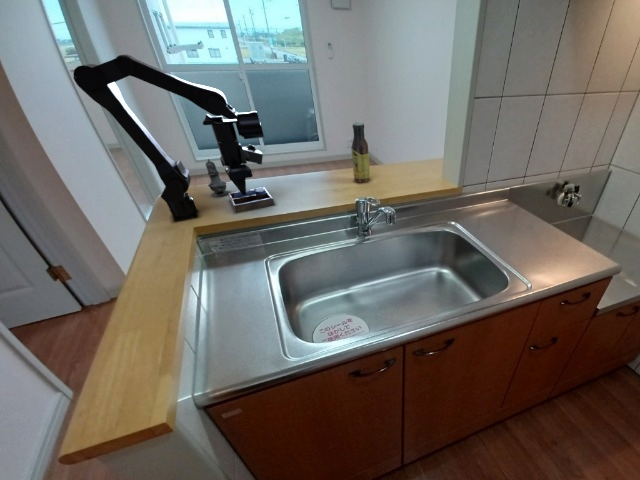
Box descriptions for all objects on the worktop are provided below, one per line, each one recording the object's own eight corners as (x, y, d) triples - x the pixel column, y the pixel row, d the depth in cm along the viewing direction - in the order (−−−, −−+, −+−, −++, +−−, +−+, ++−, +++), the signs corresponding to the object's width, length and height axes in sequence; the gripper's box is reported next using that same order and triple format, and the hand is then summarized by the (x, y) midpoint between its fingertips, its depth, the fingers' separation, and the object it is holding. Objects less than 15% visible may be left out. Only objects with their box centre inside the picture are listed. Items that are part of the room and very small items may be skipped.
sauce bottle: (352, 178, 127) (347, 122, 115) (368, 177, 129) (364, 120, 116) (356, 184, 122) (350, 125, 110) (372, 182, 124) (368, 124, 111)
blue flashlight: (236, 200, 102) (234, 195, 101) (234, 196, 104) (232, 192, 103) (266, 194, 106) (265, 189, 105) (264, 191, 108) (263, 186, 107)
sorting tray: (236, 213, 103) (233, 205, 101) (230, 200, 111) (227, 193, 109) (274, 205, 108) (272, 198, 106) (266, 193, 116) (264, 186, 114)
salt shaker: (217, 198, 112) (203, 162, 105) (208, 194, 115) (194, 159, 108) (233, 193, 116) (221, 158, 108) (224, 189, 119) (212, 155, 111)
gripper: (263, 143, 91) (276, 198, 101) (250, 131, 104) (263, 180, 113) (220, 149, 87) (238, 205, 96) (212, 135, 99) (229, 186, 109)
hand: (243, 193), depth 104 cm, fingers closed on blue flashlight, 1 cm apart
